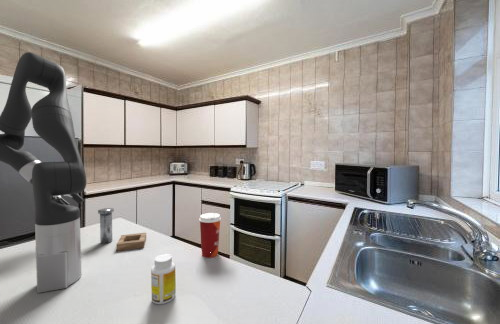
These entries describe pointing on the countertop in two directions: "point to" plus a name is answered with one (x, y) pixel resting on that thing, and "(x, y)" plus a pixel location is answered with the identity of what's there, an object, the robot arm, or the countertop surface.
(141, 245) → the collar block
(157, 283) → the supplement bottle
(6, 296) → the countertop surface
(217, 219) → the paper cup
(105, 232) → the pin
